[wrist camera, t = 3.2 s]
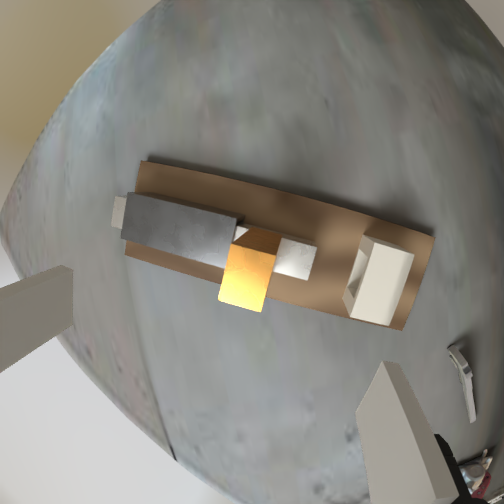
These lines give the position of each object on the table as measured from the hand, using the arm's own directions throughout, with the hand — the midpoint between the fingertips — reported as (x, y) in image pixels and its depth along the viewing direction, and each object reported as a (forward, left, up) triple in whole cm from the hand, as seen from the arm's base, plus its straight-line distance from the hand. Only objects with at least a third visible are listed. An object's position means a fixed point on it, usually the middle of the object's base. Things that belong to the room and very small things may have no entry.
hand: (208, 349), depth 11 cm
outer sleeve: (0, -9, -23) cm, 25 cm away
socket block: (0, +12, -23) cm, 26 cm away
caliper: (+14, +36, -25) cm, 46 cm away
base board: (0, +1, -25) cm, 25 cm away
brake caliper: (+35, +53, -25) cm, 68 cm away
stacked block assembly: (0, -6, -23) cm, 23 cm away
